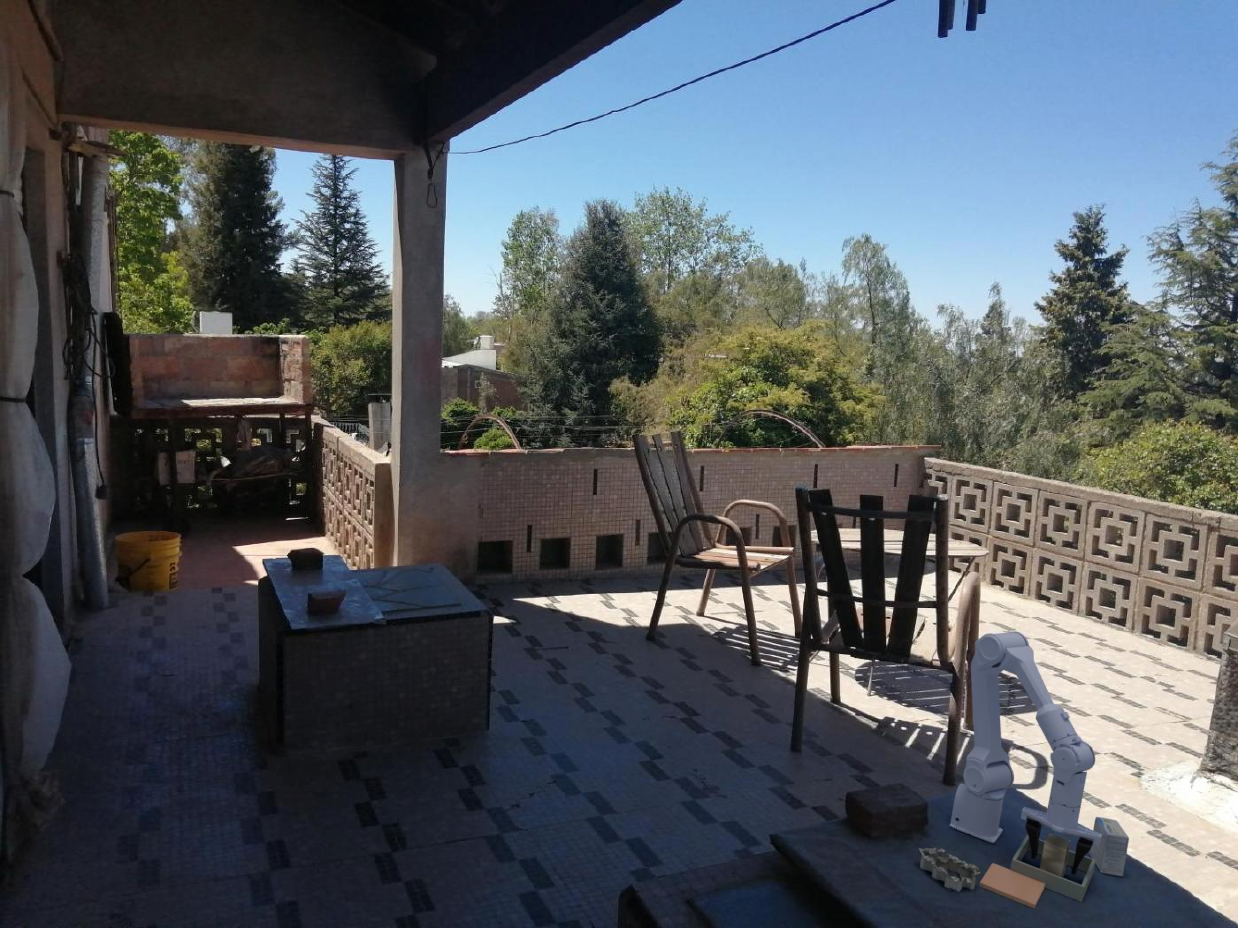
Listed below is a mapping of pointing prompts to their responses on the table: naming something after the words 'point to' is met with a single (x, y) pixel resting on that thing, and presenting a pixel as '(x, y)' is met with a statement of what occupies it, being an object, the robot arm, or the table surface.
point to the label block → (1055, 855)
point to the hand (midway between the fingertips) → (1053, 864)
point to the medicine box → (1110, 847)
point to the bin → (1050, 879)
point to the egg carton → (952, 864)
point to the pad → (1012, 885)
